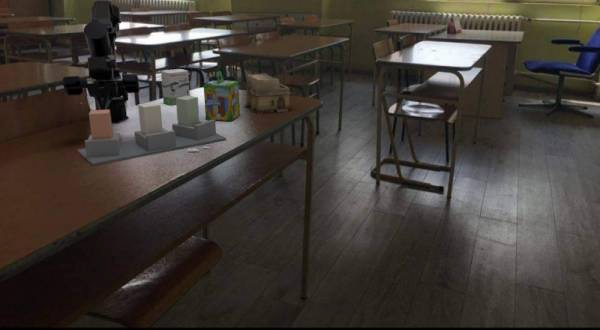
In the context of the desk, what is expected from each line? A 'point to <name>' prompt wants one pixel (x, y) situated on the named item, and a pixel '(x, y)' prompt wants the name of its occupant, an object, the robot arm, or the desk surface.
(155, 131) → the cream box
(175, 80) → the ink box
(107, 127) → the terracotta box
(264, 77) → the miniature house
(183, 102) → the sage box
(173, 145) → the grey three-slot stand
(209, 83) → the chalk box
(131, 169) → the desk surface
